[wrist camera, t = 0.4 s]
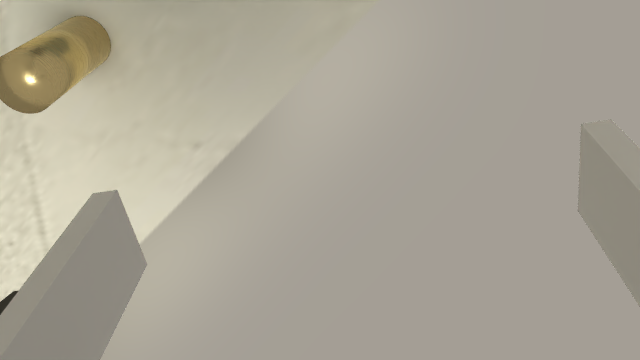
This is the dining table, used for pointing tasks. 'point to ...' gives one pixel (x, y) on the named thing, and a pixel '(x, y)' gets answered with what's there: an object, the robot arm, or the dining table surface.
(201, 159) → the dining table surface
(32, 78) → the peg
